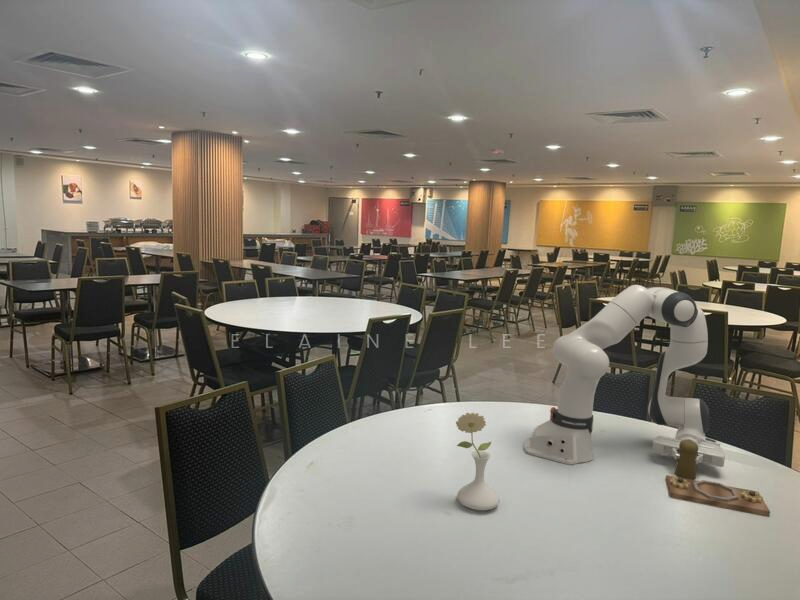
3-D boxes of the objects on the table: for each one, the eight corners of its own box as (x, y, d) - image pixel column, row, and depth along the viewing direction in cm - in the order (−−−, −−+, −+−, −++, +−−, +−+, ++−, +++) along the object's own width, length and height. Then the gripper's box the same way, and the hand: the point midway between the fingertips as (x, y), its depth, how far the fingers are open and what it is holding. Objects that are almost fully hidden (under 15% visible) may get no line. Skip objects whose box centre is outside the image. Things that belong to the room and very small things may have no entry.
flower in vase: (502, 498, 148) (508, 410, 145) (495, 518, 137) (502, 424, 134) (456, 488, 152) (461, 403, 149) (446, 508, 141) (451, 416, 138)
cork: (699, 481, 163) (703, 446, 162) (677, 478, 165) (681, 444, 163) (692, 472, 169) (696, 439, 168) (671, 470, 170) (675, 436, 169)
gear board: (670, 497, 152) (671, 485, 152) (665, 479, 163) (667, 468, 163) (769, 516, 144) (771, 503, 144) (757, 496, 155) (759, 484, 155)
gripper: (655, 428, 182) (650, 441, 170) (725, 443, 172) (725, 458, 160) (653, 446, 183) (648, 460, 171) (723, 462, 173) (722, 478, 161)
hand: (686, 459), depth 166 cm, fingers closed on cork, 3 cm apart
